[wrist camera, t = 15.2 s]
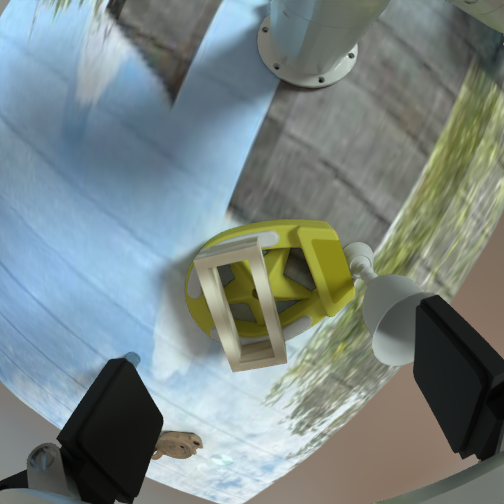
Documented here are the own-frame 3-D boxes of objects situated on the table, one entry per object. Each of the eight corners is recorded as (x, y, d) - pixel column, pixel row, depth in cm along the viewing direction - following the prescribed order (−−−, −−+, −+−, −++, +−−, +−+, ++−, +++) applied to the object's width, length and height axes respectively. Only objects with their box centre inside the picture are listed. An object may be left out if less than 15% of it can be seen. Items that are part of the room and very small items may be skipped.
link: (200, 249, 35) (193, 260, 32) (257, 235, 35) (256, 245, 31) (235, 353, 39) (232, 372, 36) (285, 344, 39) (287, 362, 35)
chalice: (356, 294, 41) (403, 376, 23) (320, 267, 40) (355, 345, 22) (389, 253, 39) (458, 316, 21) (354, 223, 38) (417, 275, 20)
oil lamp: (194, 422, 50) (189, 441, 45) (213, 444, 52) (210, 462, 47) (142, 431, 52) (135, 447, 47) (163, 451, 54) (157, 467, 49)
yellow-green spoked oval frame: (354, 302, 41) (364, 319, 37) (222, 349, 45) (217, 369, 40) (317, 193, 37) (324, 198, 32) (171, 253, 40) (159, 265, 36)
